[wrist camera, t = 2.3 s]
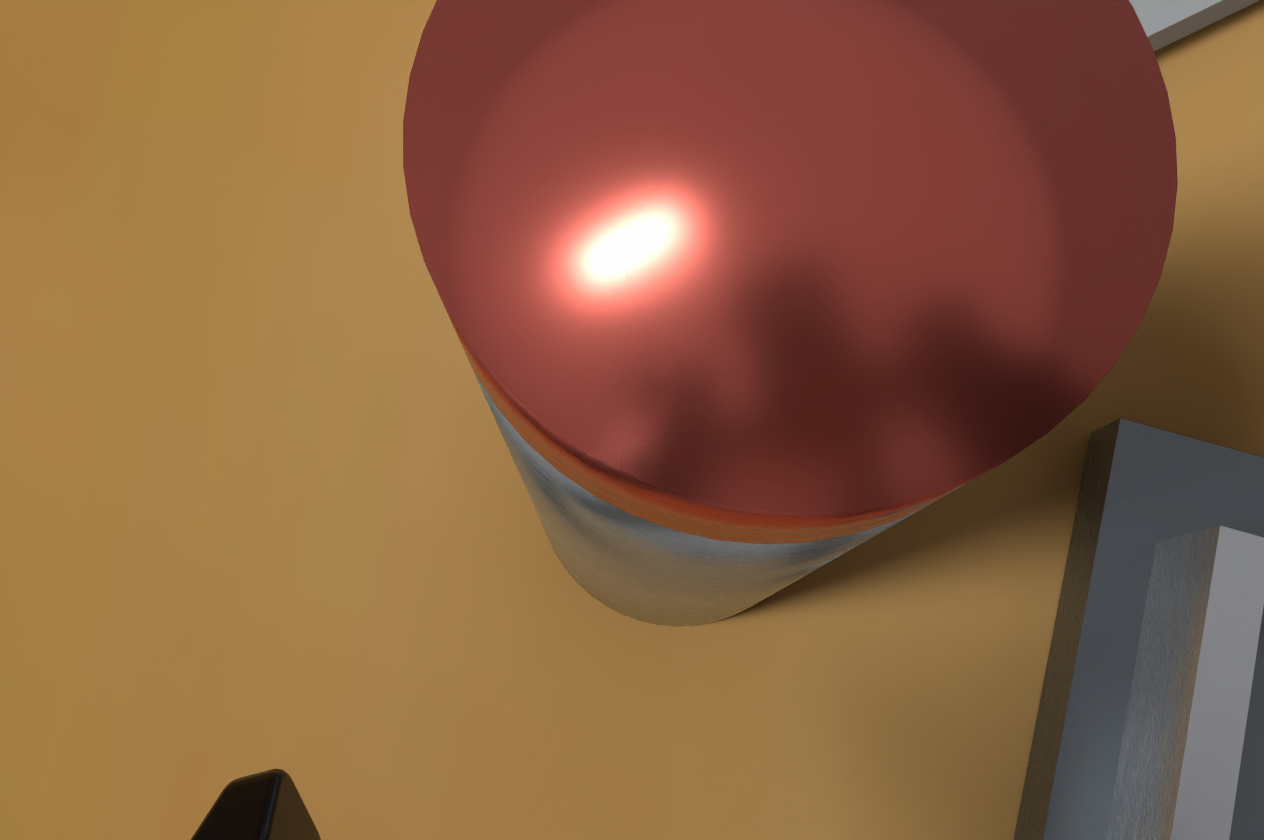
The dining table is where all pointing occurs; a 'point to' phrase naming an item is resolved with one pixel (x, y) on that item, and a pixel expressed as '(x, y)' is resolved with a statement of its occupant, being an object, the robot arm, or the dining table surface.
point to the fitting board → (1155, 650)
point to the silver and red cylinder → (779, 260)
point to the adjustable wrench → (1181, 17)
